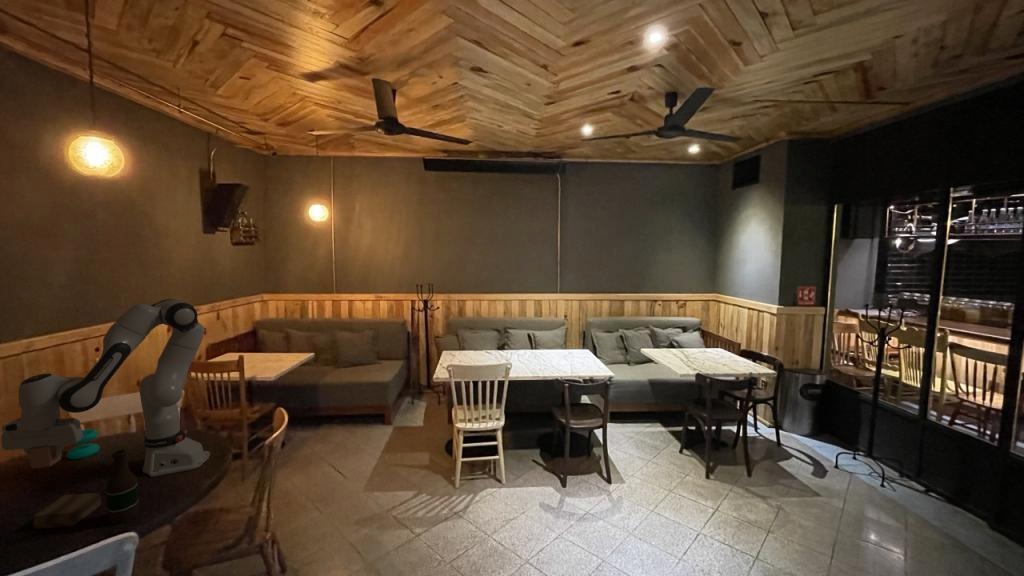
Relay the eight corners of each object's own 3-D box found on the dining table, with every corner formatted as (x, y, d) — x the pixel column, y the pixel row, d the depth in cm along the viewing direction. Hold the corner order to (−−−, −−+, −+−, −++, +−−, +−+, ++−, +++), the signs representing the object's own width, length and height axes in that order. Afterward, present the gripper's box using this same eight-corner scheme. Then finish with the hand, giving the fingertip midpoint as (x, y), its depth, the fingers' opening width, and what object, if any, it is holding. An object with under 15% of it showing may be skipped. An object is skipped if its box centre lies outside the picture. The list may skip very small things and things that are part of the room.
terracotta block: (61, 458, 144) (59, 440, 143) (50, 466, 139) (47, 447, 138) (43, 460, 142) (41, 442, 141) (31, 468, 138) (29, 449, 137)
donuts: (101, 431, 176) (68, 440, 167) (102, 453, 177) (70, 463, 168) (94, 426, 181) (62, 434, 173) (96, 446, 182) (64, 455, 174)
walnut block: (101, 505, 143) (100, 492, 143) (73, 526, 132) (72, 513, 132) (65, 508, 141) (64, 495, 141) (34, 529, 130) (32, 515, 130)
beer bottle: (122, 509, 141) (117, 446, 138) (145, 509, 141) (141, 445, 139) (101, 525, 133) (96, 457, 131) (126, 524, 134) (121, 457, 131)
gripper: (85, 413, 145) (89, 449, 146) (11, 419, 139) (16, 456, 140) (72, 421, 139) (76, 457, 140) (-6, 427, 133) (0, 466, 134)
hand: (46, 457), depth 140 cm, fingers closed on terracotta block, 5 cm apart
